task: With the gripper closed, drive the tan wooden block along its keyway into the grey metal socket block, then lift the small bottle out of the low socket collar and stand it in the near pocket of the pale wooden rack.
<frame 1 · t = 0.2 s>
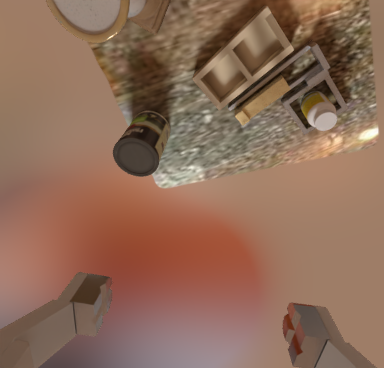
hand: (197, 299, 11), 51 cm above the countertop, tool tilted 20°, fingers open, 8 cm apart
rack: (239, 60, 51), on the countertop
supplement bottle: (312, 102, 55), resting in socket block
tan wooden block: (260, 99, 53), point 2 cm above the countertop, slide at 0.0 cm
socket block: (312, 102, 54), on the countertop
coffee can: (151, 128, 64), on the countertop
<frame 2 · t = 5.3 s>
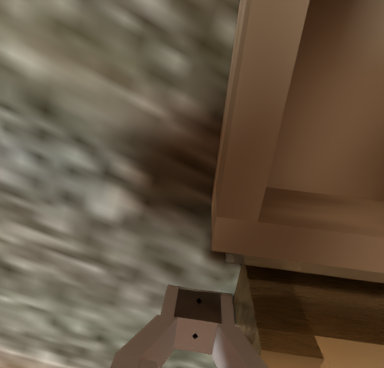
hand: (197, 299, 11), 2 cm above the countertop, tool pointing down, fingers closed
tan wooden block: (383, 337, 10), point 2 cm above the countertop, slide at 0.0 cm, touching gripper
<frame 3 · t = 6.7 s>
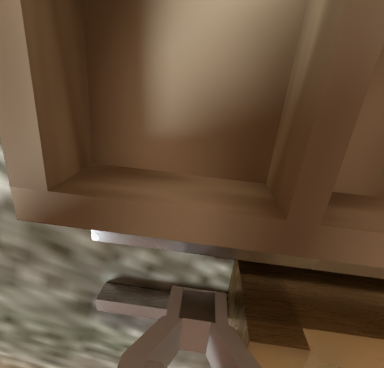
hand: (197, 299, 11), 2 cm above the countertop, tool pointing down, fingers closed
rack: (290, 99, 10), on the countertop
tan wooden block: (373, 331, 10), point 2 cm above the countertop, slide at 6.1 cm, touching gripper
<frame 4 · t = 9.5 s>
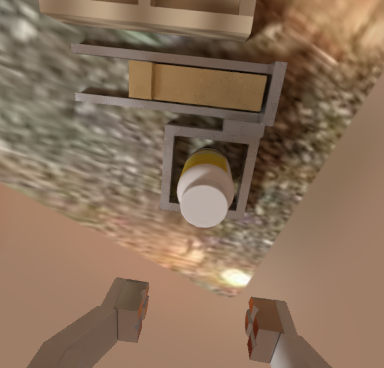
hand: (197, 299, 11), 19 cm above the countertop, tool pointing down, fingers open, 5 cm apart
supplement bottle: (207, 169, 29), resting in socket block
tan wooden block: (197, 86, 23), point 2 cm above the countertop, slide at 6.0 cm
socket block: (207, 169, 29), on the countertop
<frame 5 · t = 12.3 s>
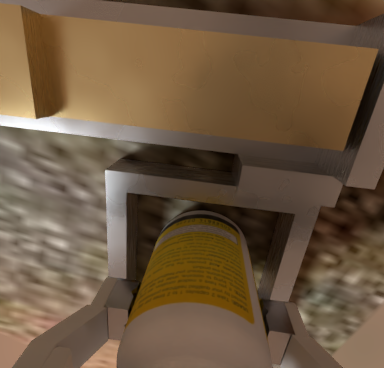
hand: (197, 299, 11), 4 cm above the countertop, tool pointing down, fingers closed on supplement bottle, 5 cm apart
supplement bottle: (201, 245, 15), resting in socket block, touching gripper
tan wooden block: (175, 83, 9), point 2 cm above the countertop, slide at 6.0 cm
socket block: (201, 247, 15), on the countertop
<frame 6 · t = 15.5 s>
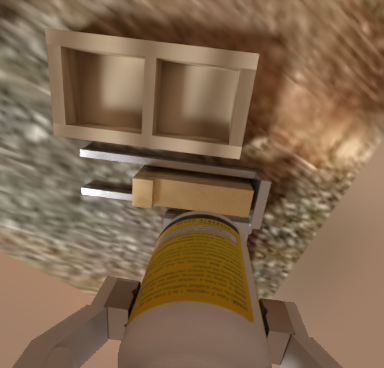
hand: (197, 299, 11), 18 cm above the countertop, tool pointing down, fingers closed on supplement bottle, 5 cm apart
rack: (157, 97, 25), on the countertop
supplement bottle: (201, 245, 15), point 14 cm above the countertop, touching gripper
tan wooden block: (193, 191, 26), point 2 cm above the countertop, slide at 6.0 cm
socket block: (201, 249, 31), on the countertop
when the fingers open (7 cm above the countertop, at t = 18.8 s): supplement bottle drops 2 cm, resting on rack.
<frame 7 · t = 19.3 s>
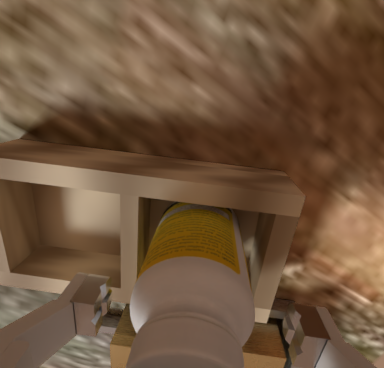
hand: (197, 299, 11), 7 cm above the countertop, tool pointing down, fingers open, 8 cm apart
rack: (146, 213, 18), on the countertop
supplement bottle: (199, 225, 17), point 1 cm above the countertop, touching rack
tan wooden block: (198, 338, 19), point 2 cm above the countertop, slide at 6.0 cm
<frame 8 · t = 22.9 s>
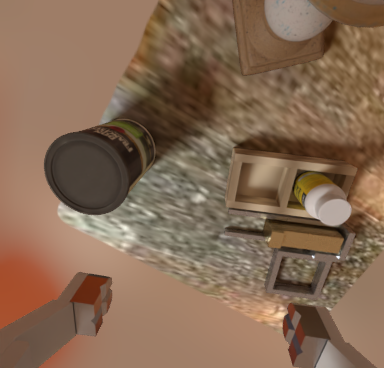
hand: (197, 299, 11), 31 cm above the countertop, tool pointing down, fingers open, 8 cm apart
rack: (281, 179, 41), on the countertop
supplement bottle: (307, 183, 40), point 1 cm above the countertop, touching rack
candle holder: (275, 25, 33), on the countertop
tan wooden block: (301, 236, 42), point 2 cm above the countertop, slide at 6.0 cm
socket block: (295, 268, 47), on the countertop
coffee can: (126, 148, 41), on the countertop
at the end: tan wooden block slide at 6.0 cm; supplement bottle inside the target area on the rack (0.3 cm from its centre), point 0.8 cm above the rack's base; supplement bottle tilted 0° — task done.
